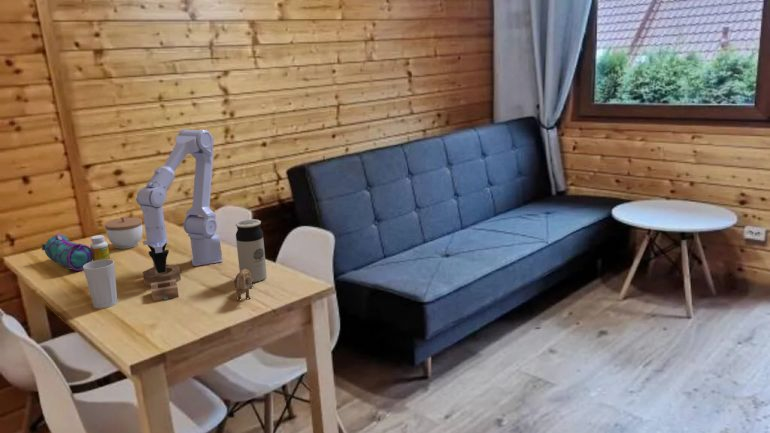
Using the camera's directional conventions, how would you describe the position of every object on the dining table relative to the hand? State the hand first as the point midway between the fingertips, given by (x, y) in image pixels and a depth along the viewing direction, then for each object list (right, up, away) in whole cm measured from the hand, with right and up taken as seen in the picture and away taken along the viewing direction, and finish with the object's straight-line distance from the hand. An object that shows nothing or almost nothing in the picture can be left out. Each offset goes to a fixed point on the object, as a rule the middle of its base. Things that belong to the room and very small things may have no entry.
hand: (161, 268), depth 186 cm
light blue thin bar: (+5, -6, -9) cm, 12 cm away
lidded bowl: (-26, +5, +37) cm, 45 cm away
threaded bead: (+5, -7, -11) cm, 14 cm away
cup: (-10, -9, -15) cm, 20 cm away
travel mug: (+29, -3, 0) cm, 29 cm away
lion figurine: (+29, -7, -13) cm, 33 cm away
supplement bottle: (-26, 0, +18) cm, 32 cm away
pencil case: (-37, -1, +18) cm, 42 cm away
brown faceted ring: (0, -4, +1) cm, 4 cm away
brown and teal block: (0, -4, +1) cm, 4 cm away
